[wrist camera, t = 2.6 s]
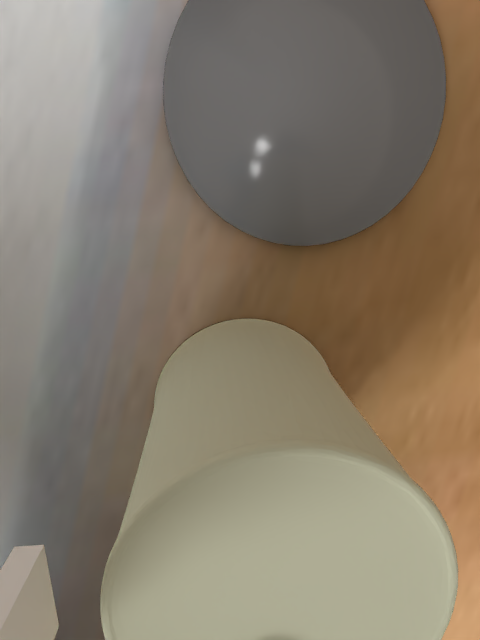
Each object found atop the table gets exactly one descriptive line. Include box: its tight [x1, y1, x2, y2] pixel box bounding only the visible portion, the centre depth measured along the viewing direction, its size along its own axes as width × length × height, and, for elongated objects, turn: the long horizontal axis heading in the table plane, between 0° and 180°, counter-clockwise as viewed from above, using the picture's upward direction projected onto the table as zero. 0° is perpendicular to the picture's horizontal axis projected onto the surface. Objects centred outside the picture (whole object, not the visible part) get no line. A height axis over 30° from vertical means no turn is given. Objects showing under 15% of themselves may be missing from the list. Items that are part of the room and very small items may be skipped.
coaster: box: [163, 0, 446, 246], centre depth 18 cm, size 12×12×1 cm
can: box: [100, 319, 458, 640], centre depth 16 cm, size 9×9×12 cm
